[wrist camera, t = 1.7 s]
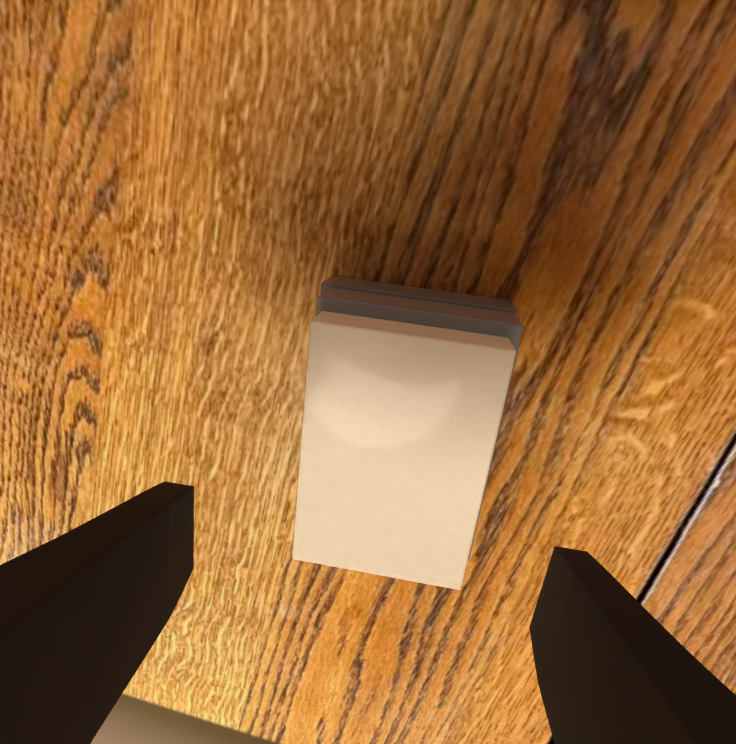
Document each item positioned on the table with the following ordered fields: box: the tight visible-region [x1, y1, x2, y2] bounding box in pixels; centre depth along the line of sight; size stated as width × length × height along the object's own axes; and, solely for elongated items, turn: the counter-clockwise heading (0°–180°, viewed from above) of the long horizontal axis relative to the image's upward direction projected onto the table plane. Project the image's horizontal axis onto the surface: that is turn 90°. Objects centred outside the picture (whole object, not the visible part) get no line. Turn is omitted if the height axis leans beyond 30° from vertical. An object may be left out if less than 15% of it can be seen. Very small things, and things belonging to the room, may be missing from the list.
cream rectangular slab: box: [292, 311, 516, 590], centre depth 15 cm, size 8×6×1 cm
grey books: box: [316, 276, 523, 560], centre depth 17 cm, size 9×6×4 cm
